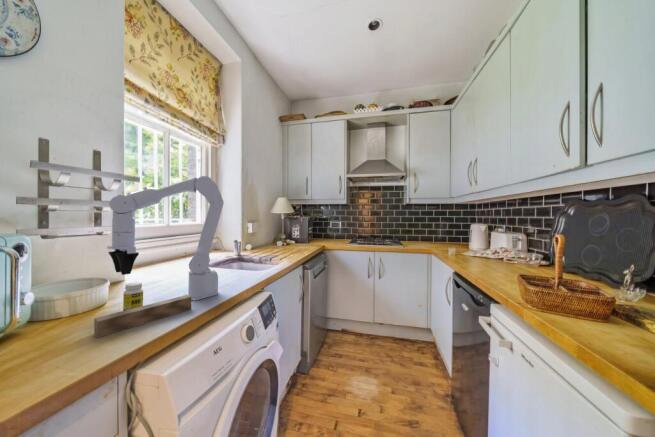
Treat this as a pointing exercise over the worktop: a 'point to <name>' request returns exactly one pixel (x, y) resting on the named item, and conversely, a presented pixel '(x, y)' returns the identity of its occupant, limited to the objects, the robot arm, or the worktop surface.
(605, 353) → the worktop surface
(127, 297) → the supplement bottle
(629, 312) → the worktop surface
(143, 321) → the walnut board
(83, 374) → the worktop surface
